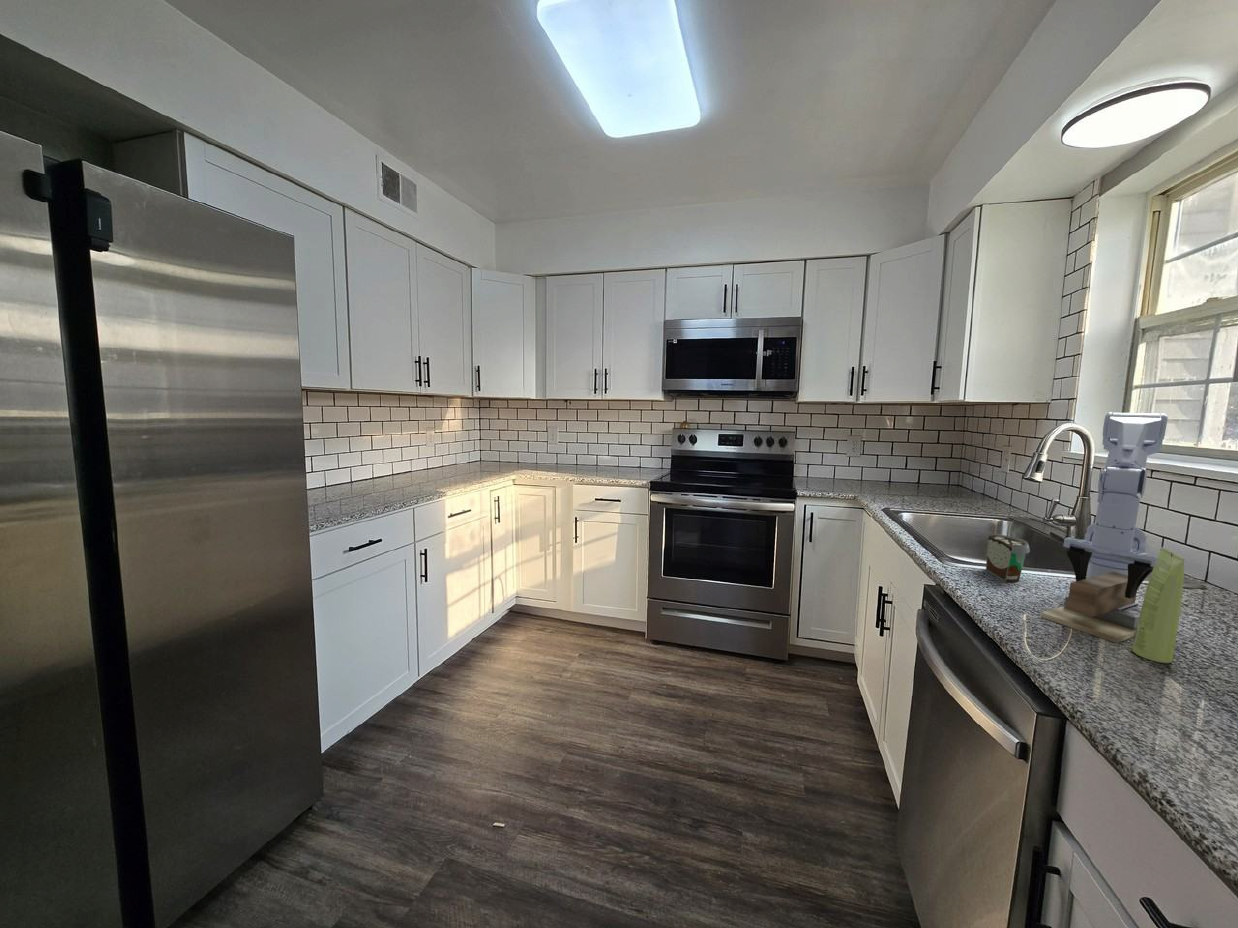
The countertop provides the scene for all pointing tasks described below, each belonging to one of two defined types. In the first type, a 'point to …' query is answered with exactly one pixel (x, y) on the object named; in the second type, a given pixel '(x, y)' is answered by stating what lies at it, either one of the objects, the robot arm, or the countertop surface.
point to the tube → (1161, 609)
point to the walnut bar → (1099, 594)
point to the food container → (1006, 556)
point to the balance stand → (1097, 622)
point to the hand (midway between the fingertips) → (1104, 590)
